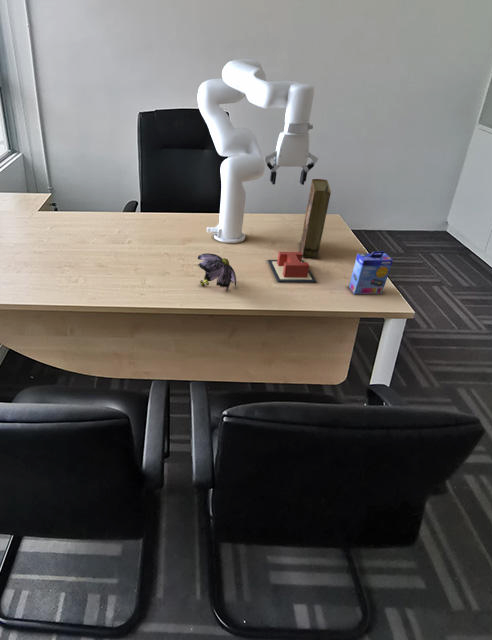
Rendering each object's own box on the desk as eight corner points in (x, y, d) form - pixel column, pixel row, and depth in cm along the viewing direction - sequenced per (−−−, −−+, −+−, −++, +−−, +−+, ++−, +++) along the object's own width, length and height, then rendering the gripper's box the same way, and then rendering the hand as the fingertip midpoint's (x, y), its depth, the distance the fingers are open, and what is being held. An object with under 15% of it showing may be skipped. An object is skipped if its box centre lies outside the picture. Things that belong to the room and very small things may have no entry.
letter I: (283, 277, 168) (285, 265, 165) (276, 263, 178) (278, 251, 175) (307, 277, 168) (309, 265, 165) (298, 263, 178) (300, 251, 175)
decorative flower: (238, 271, 150) (196, 248, 153) (221, 303, 155) (181, 281, 158) (249, 265, 162) (210, 245, 166) (233, 296, 167) (196, 275, 171)
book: (300, 242, 196) (311, 178, 182) (314, 243, 195) (327, 179, 181) (301, 258, 183) (314, 190, 169) (317, 259, 182) (331, 191, 168)
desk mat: (277, 282, 165) (278, 281, 165) (268, 260, 180) (268, 259, 180) (316, 282, 166) (316, 281, 165) (303, 261, 180) (303, 259, 180)
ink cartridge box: (354, 295, 158) (365, 253, 150) (347, 287, 163) (357, 246, 155) (383, 294, 159) (396, 252, 151) (376, 286, 163) (387, 245, 155)
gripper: (319, 126, 157) (310, 180, 167) (266, 126, 157) (259, 180, 167) (326, 130, 151) (316, 187, 161) (270, 130, 151) (263, 186, 161)
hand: (287, 183), depth 164 cm, fingers open, 9 cm apart
